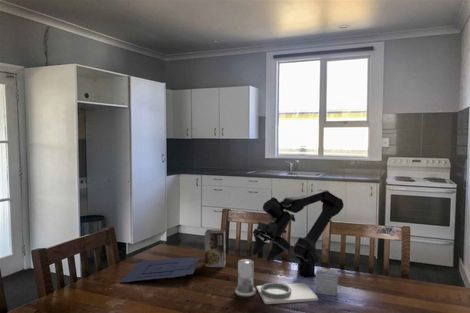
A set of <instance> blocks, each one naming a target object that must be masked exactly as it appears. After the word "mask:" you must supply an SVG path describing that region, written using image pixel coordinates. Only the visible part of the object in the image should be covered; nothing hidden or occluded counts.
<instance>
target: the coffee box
mask: <svg viewBox="0 0 470 313" xmlns="http://www.w3.org/2000/svg"><path fill="white" fill-rule="evenodd" d="M226 261H227V260H226V229H216V228H215V229H208V228H207V229H206V230H205V231H204V267H206V268H225V266H226Z"/></svg>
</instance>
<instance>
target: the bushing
mask: <svg viewBox="0 0 470 313" xmlns="http://www.w3.org/2000/svg"><path fill="white" fill-rule="evenodd" d="M254 264H255V262H254V261H253V260H252V259H247V258H245V259H239V260H238V261H237V287H236V288H235V290H234V293H235V296H237V297H242V298H250V297H254V296H255V295H256V293H257V289H256V288H255V286H254V267H255V266H254Z"/></svg>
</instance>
